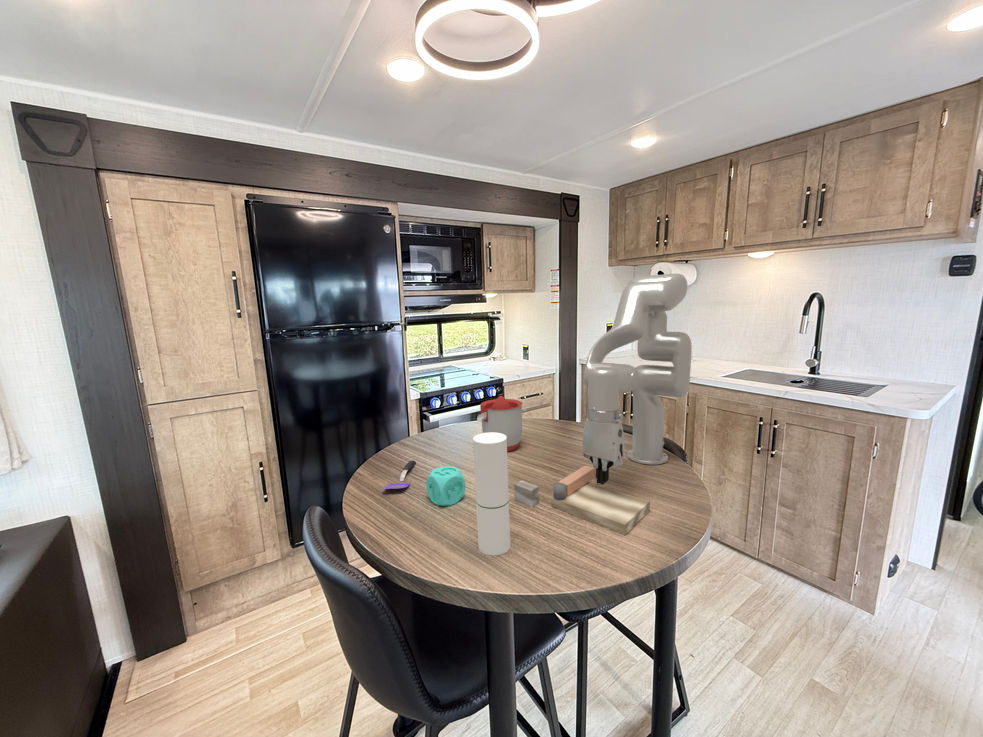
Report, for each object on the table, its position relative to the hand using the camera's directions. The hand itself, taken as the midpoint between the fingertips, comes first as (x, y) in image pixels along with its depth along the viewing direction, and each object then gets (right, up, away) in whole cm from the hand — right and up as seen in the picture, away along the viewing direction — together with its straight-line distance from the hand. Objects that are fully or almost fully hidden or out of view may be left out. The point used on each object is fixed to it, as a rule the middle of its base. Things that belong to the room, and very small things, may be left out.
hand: (602, 482), depth 103 cm
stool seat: (-6, -6, -1) cm, 9 cm away
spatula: (-57, -5, +21) cm, 61 cm away
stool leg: (-7, -2, +3) cm, 8 cm away
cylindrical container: (-29, -9, -17) cm, 34 cm away
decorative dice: (-42, -7, +5) cm, 43 cm away
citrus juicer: (-26, 0, +43) cm, 51 cm away
